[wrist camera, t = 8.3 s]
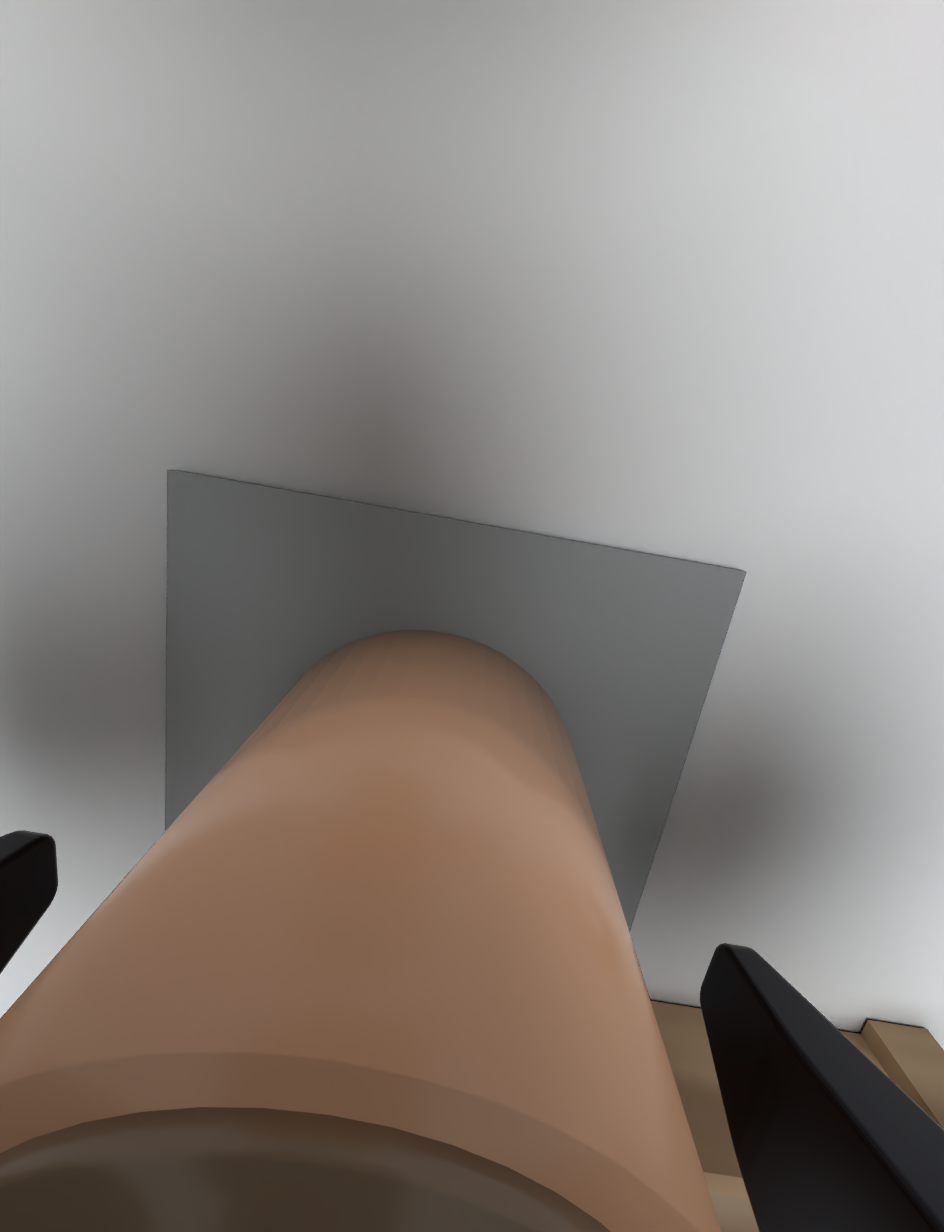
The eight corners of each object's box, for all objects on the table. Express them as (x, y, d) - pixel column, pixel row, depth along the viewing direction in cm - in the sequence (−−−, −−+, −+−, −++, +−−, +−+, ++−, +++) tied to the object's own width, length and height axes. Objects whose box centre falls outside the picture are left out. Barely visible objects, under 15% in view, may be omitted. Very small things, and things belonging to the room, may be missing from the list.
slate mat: (604, 993, 12) (606, 1001, 12) (169, 924, 12) (164, 932, 11) (741, 569, 9) (746, 572, 9) (174, 470, 9) (167, 469, 9)
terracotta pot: (538, 918, 11) (626, 1671, 4) (260, 873, 11) (-132, 1578, 4) (606, 661, 9) (947, 1204, 2) (279, 604, 9) (-334, 1009, 2)
